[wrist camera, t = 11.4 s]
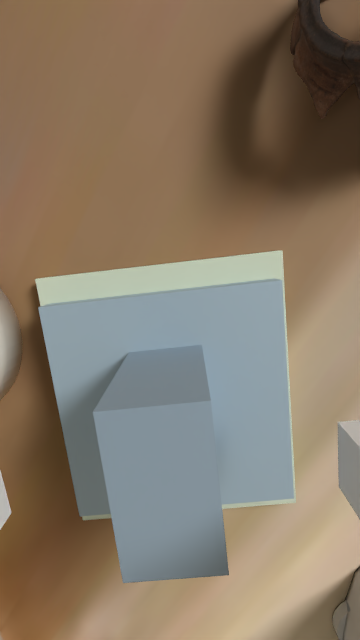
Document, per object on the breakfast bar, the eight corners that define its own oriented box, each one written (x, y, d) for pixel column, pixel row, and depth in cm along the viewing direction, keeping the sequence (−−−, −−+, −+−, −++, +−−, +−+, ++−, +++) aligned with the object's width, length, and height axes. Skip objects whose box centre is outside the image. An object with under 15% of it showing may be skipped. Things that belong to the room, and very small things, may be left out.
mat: (42, 277, 20) (35, 278, 19) (277, 250, 19) (282, 250, 18) (87, 508, 23) (82, 520, 22) (291, 491, 22) (295, 502, 21)
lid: (49, 303, 19) (-58, 340, 11) (275, 278, 18) (346, 296, 10) (86, 499, 21) (23, 652, 13) (287, 482, 21) (352, 631, 13)
